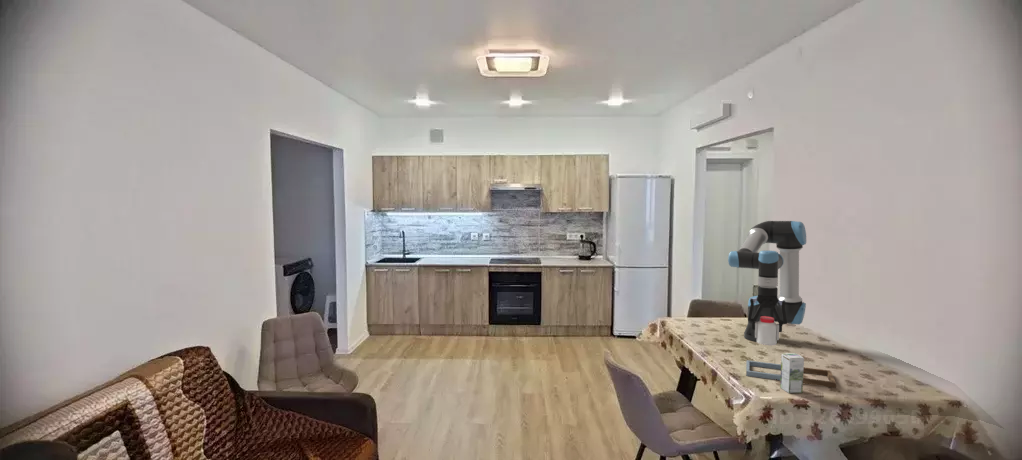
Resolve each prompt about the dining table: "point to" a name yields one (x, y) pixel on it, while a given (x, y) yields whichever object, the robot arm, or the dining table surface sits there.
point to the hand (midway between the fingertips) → (766, 338)
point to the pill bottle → (766, 331)
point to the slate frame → (761, 374)
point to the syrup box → (792, 372)
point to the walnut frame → (819, 382)
